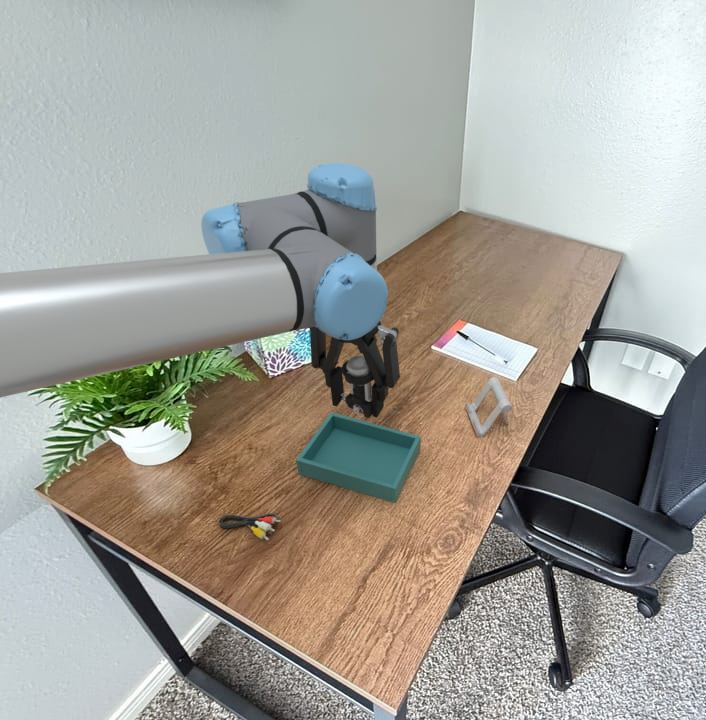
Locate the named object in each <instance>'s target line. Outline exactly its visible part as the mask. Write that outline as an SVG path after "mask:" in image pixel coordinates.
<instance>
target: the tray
mask: <svg viewBox="0 0 706 720" xmlns="http://www.w3.org/2000/svg"><path fill="white" fill-rule="evenodd" d="M421 439H422V436H420V435H416V434H413V433H409V432H406V431H402V430H399V429H394V428H391V427H387V426H385V425H380V424H377V423H373V422H369V421H366V420H363V419H358V418H354V417H351V416H347V415H343V414H340V413H336V412H332V411H331V412H330V413H329V414H328V416H327V417H326V418H325V420H324V421H323V422H322V424H321V425H320V427H319V428H318V429H317V430H316V432H315V433H314V435H313V436H312V437H311V439H310V440H309V441H308V443H307V444H306V446H304V448H303V450H302V451H301V452H300V454H299V455H298V457H296V459H295V462H296V468H297V472H298V475H299V476H302V477H306V478H309V479H312V480H316V481H320V482H322V483H326V484H329V485H333V486H336V487H340V488H344V489H347V490H349V491H354V492H357V493H359V494H364V495H367V496H370V497H374V498H377V499H380V500H385V501H387V502H391V503H394V504H396V503H397V501H398V499H399V497H400V494H401V492H402V490H403V488H404V487H405V484H406V482H407V479H408V478H409V475H410V473H411V472H412V469H413V466H414V465H415V463H416V461H417V458H418V457H419V454H420V452H421Z"/></svg>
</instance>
